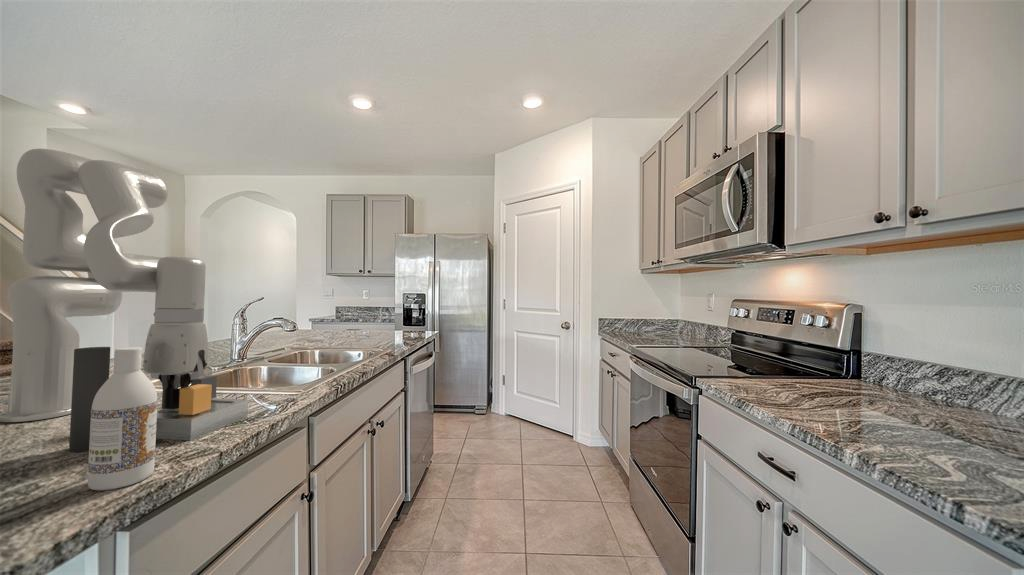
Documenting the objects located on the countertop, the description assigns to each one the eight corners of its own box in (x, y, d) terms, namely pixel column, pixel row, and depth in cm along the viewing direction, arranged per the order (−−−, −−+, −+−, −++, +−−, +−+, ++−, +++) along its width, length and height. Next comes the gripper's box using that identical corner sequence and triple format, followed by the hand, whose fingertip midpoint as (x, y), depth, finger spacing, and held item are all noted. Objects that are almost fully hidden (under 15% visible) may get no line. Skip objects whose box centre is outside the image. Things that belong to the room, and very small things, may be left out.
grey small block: (187, 401, 81) (188, 378, 81) (203, 396, 85) (204, 375, 85) (200, 402, 81) (201, 379, 81) (215, 397, 85) (216, 375, 85)
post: (61, 451, 65) (66, 349, 65) (91, 441, 69) (96, 346, 70) (84, 452, 65) (89, 350, 65) (112, 443, 69) (117, 347, 70)
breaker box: (133, 437, 72) (134, 415, 72) (198, 414, 86) (199, 396, 86) (190, 440, 71) (191, 418, 71) (247, 417, 85) (248, 398, 85)
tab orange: (178, 414, 73) (179, 388, 73) (197, 408, 77) (198, 384, 77) (192, 414, 73) (193, 389, 73) (210, 408, 77) (211, 384, 77)
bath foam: (143, 485, 54) (150, 350, 55) (76, 496, 51) (83, 352, 52) (161, 466, 60) (166, 344, 61) (101, 475, 57) (108, 346, 58)
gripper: (126, 317, 72) (121, 411, 72) (197, 319, 71) (193, 414, 71) (164, 315, 80) (160, 400, 79) (229, 317, 79) (226, 403, 78)
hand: (176, 406), depth 75 cm, fingers closed
